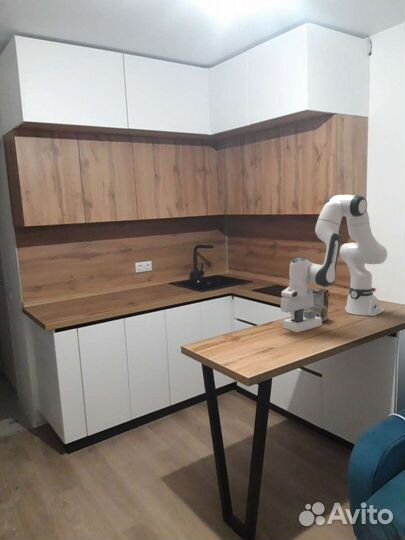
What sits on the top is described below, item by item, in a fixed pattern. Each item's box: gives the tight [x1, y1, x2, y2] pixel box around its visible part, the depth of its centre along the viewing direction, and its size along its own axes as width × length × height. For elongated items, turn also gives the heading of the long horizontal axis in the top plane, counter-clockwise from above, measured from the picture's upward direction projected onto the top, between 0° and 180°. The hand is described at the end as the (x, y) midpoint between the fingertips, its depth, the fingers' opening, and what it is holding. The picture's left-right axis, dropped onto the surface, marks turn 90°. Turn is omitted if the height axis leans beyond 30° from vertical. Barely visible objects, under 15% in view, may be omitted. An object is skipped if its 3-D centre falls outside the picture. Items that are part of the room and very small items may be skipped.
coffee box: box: [309, 287, 329, 323], centre depth 216 cm, size 9×6×16 cm
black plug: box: [292, 309, 304, 323], centre depth 203 cm, size 4×4×7 cm
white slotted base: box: [282, 309, 323, 333], centre depth 206 cm, size 18×9×7 cm, turn 125°
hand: (297, 318), depth 203 cm, fingers closed on black plug, 4 cm apart
